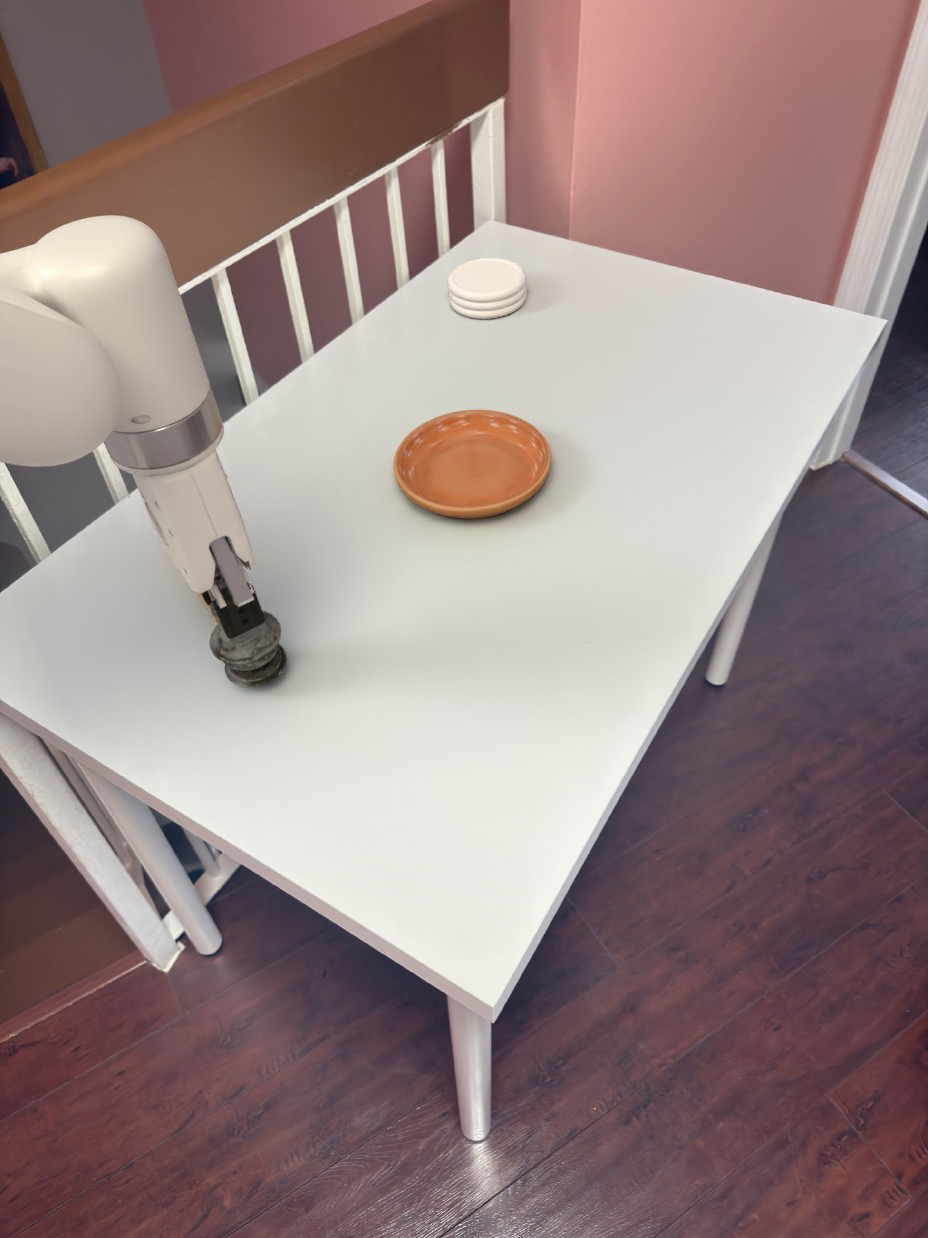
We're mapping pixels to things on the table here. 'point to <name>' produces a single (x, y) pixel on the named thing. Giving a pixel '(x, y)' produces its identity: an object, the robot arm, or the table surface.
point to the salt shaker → (249, 651)
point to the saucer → (472, 463)
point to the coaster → (487, 288)
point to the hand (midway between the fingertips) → (234, 610)
